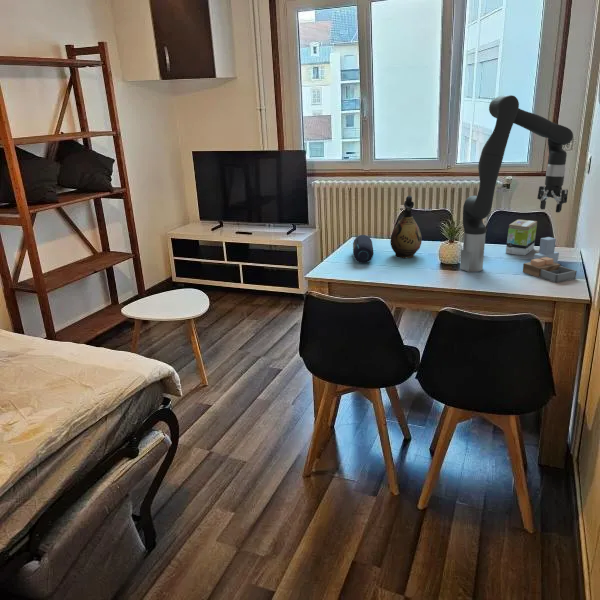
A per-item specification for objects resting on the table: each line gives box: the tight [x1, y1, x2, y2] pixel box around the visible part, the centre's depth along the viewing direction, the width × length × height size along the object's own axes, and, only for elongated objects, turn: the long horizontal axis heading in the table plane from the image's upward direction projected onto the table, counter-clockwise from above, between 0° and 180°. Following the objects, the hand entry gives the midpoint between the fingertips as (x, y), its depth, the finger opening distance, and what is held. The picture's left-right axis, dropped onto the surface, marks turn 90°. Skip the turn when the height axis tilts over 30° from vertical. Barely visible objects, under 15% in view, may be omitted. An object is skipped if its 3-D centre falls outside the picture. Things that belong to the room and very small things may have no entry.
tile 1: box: [530, 258, 545, 266], centre depth 232 cm, size 4×4×2 cm
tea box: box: [505, 219, 538, 256], centre depth 265 cm, size 15×10×15 cm
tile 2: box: [540, 257, 554, 265], centre depth 234 cm, size 4×4×2 cm
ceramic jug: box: [389, 195, 423, 259], centre depth 264 cm, size 17×15×30 cm
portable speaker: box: [352, 234, 374, 264], centre depth 267 cm, size 25×10×10 cm, turn 175°
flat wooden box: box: [522, 261, 561, 278], centre depth 234 cm, size 12×9×4 cm
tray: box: [539, 265, 577, 284], centre depth 226 cm, size 11×8×4 cm
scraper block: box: [533, 236, 560, 264], centre depth 245 cm, size 11×4×12 cm, turn 113°
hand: (550, 210), depth 242 cm, fingers open, 8 cm apart
